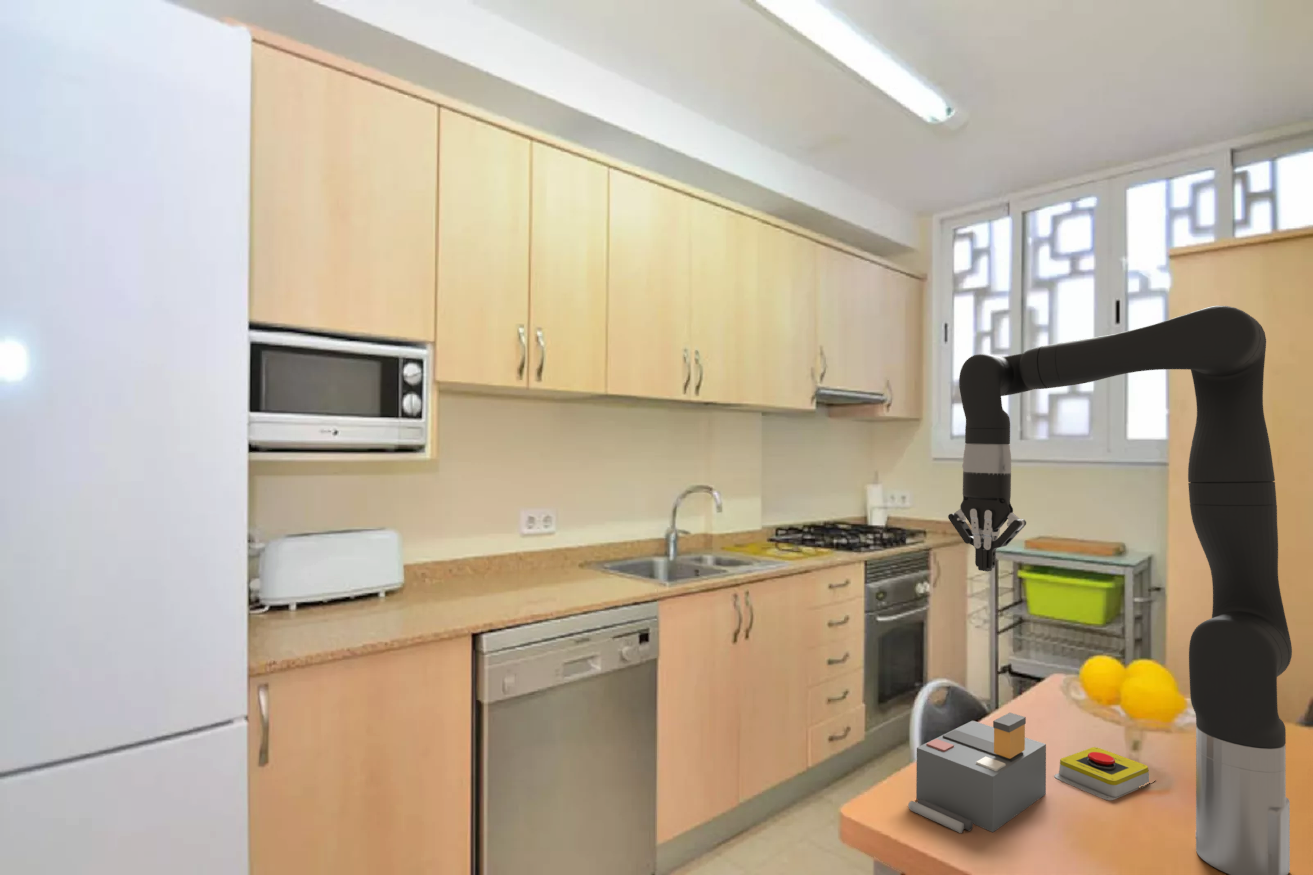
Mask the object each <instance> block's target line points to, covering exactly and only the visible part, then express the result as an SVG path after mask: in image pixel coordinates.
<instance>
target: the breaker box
mask: <svg viewBox="0 0 1313 875" xmlns="http://www.w3.org/2000/svg"><path fill="white" fill-rule="evenodd" d="M1046 779H1047V744H1046V743H1044V742H1041V741H1037V740H1034V739H1032V738H1028V737H1025V750H1024V751H1022V752H1020V753H1019V754H1017V755H1015V756H1014V757H1012V758H1010V759H1009V758H1006V757H1004V756H1001V755H998V754H995V753H994V728H993V726H991V725H988V724H984V723H982V722H979V721H975V720H971V721H968V722H967V723H964V724H962V725H960V726H958V727H957V728H954V729H952V730H950V731H948V732H946V733H943V734H942V735H940V736H938V737H936V738H934V739H932V740H929V741H928V742H925V743H923V744H921V745H918V746H917V747H916V779H915V780H916V783H915V784H916V786H915V787H916V796H915V798H916V799H917V801H918V800H919V799H923V800H925V801H927V802H930V803H932V804H934V805H937V806H939V807H941V808H943V809H946V810H948V811H950V812H953V813H955V814H957V815H959V816H962V817H964V818H966V819H969V820H971V821H972V822H973V825H975V826H977V827H980V828H982V829H984V830H986V831H989V832H991V833H994V832H996V831H997V830H998V829H1000V828H1001V827H1002V826H1004V825H1005V824H1006V823H1008V822H1009V821H1011V820H1012V819H1014V818H1015V817H1017V816H1018V815H1019V814H1021V813H1022V812H1023V811H1024V810H1026V809H1027V808H1029V807H1030V806H1032V804H1034V803H1036V802H1037V801H1039V800H1040V799H1041V798H1042V797H1044V796H1046V795H1047V794H1046V793H1047V780H1046Z"/></svg>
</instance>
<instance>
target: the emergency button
mask: <svg viewBox="0 0 1313 875" xmlns="http://www.w3.org/2000/svg"><path fill="white" fill-rule="evenodd" d="M1149 772H1150V771H1149V766H1148V765H1146V764H1144V763H1141V762H1140V761H1136V760H1133V759H1130V758H1127V757H1125V756H1123V755H1119V754H1117V753H1114V752H1111V751H1108V750H1106V749H1103V748H1101V747H1096V746H1092V747H1089V748H1087V749H1086V748H1085V749H1083V750H1081V751H1078V752H1075V753H1072V754H1070V755H1067V756H1064V757H1061V758H1060V760H1059V771H1058V773H1055V774H1054V775H1053V777H1054V778H1055V779H1056V780H1058V781H1061V782H1063V783H1065V784H1068V785H1070V786H1072V787H1074V788H1076V789H1079V790H1082V791H1084V792H1086V793H1089V794H1091V795H1093V796H1096V797H1098V798H1101V799H1103V800H1105V801H1115V800H1117V799H1118V798H1121V797H1124V796H1125V795H1129V794H1130V793H1132V792H1135V791H1138V790H1139V789H1138V788H1139V786H1141V785H1144V784H1145V783H1147V782H1149V776H1150V773H1149Z"/></svg>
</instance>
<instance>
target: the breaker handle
mask: <svg viewBox="0 0 1313 875" xmlns="http://www.w3.org/2000/svg"><path fill="white" fill-rule="evenodd" d="M1026 720H1027V718H1026V716H1022V715H1019V714H1017V713H1012V712H1008V713H1005V715H1002V716H1000V717H998V718H996V719H994V720H993V721H992V723H993V724H992V727H993V728H994V753H995V754H998V755H1001V756H1004V757H1006V758H1009V759H1010V758H1012V757H1014V756H1015V755H1017V754H1019V753H1020V752H1022V751H1024V750H1025V738H1026V737H1025V736H1026V733H1025V732H1026V730H1025V729H1026V727H1025V726H1026Z"/></svg>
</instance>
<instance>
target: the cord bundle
mask: <svg viewBox="0 0 1313 875" xmlns="http://www.w3.org/2000/svg"><path fill="white" fill-rule="evenodd" d="M907 807H908V808H909V810H910V811H912V812H913V813H915V814H917V815H920V816H922V817H924V818H927V819H929V820H931V821H932V822H935V823H937V824H939V825H941V826H944V827H946V828H948V829H951V830H952V831H955V832H957V833H959V834H962V833H964V830H966V831H968V832H971V830H972V829H973V826H974V824H973V822H972V821H971V820H969V819H966V818H964V817H962V816H959V815H957V814H955V813H953V812H950V811H948V810H946V809H943V808H941V807H939V806H937V805H934V804H932V803H930V802H927V801H925V800H923V799H919V800H918V799H917V801H914V800H910V801H909V802H908V806H907Z"/></svg>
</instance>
